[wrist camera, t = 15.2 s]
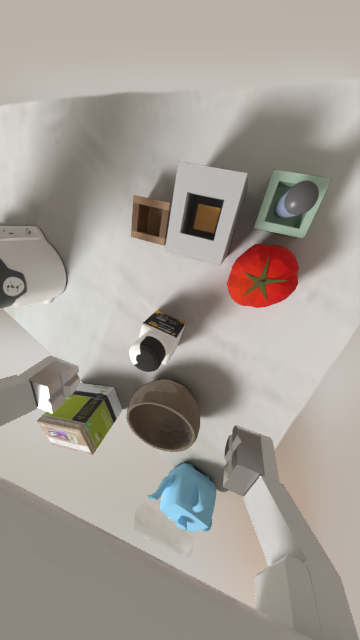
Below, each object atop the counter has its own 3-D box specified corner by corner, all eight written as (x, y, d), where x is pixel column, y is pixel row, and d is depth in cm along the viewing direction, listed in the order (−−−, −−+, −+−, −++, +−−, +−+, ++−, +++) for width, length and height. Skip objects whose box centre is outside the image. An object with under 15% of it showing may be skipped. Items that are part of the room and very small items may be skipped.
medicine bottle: (186, 322, 41) (166, 354, 30) (177, 347, 44) (156, 383, 34) (157, 309, 42) (127, 335, 31) (150, 334, 45) (121, 365, 35)
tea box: (87, 403, 66) (50, 445, 54) (77, 381, 62) (34, 420, 50) (123, 410, 61) (91, 457, 49) (115, 386, 57) (78, 430, 45)
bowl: (211, 420, 51) (204, 459, 42) (154, 417, 58) (138, 449, 49) (195, 368, 45) (183, 401, 37) (134, 371, 52) (112, 399, 44)
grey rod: (270, 216, 28) (280, 211, 19) (279, 193, 26) (293, 178, 18) (290, 220, 27) (309, 217, 19) (300, 197, 26) (325, 183, 17)
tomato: (305, 271, 30) (324, 284, 23) (252, 310, 35) (253, 330, 28) (267, 227, 29) (274, 227, 22) (218, 274, 35) (210, 285, 27)
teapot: (216, 466, 59) (209, 524, 47) (218, 495, 65) (212, 552, 54) (162, 451, 65) (144, 500, 53) (169, 479, 71) (154, 528, 59)
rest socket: (253, 227, 30) (254, 227, 26) (270, 177, 27) (274, 169, 23) (296, 237, 29) (303, 238, 25) (320, 185, 26) (331, 178, 22)
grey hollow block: (183, 246, 34) (164, 250, 27) (195, 179, 30) (178, 161, 22) (226, 257, 33) (220, 265, 25) (247, 188, 28) (247, 173, 20)
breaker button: (197, 228, 30) (193, 228, 28) (202, 205, 28) (198, 203, 26) (216, 233, 29) (214, 233, 27) (222, 209, 28) (220, 208, 26)
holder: (143, 236, 36) (131, 236, 32) (146, 199, 33) (133, 195, 29) (172, 243, 35) (163, 245, 31) (179, 206, 32) (169, 202, 28)
